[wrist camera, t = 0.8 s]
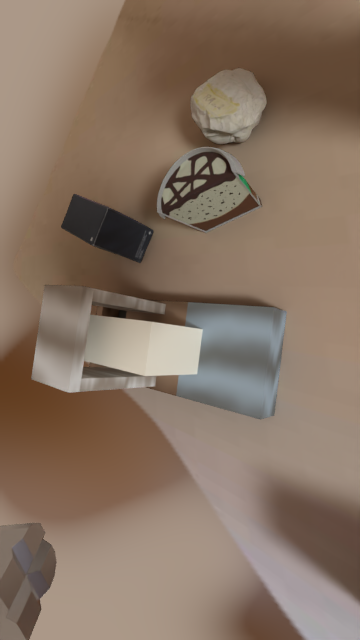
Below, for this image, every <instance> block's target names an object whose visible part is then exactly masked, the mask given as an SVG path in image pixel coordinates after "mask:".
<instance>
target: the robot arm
mask: <svg viewBox="0 0 360 640" xmlns="http://www.w3.org/2000/svg"><path fill="white" fill-rule="evenodd" d="M44 535H45V531H44V529H43V527H42V526H41V524H40V523H27V524H15V525H3V526H0V640H29V639H30V636H31V634H32V631H33V629H34V626H35V624H36V621H37V619H38V616H39V614H40V611H41V604H40V598H41V597H42V596H43V595H44V594H45V593H46V592H47V591H48V590H49V588H50V586H51V584H52V581H53V578H54V575H55V568H56V556H55V551H54V549H53V547H52V545H51V544H50V543H48V542H47V541H45V540H44V539H43V538H44Z"/></svg>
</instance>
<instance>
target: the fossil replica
mask: <svg viewBox="0 0 360 640" xmlns="http://www.w3.org/2000/svg"><path fill="white" fill-rule="evenodd" d="M266 103H267V101H266V96H265V94H264V90H263V88H262V87H261V86H260V85H259V84H258V82H257V81H256V78H255V75H254V73H252V72H251V71H247V70H245V69H241V68H237V69H234V70H232V71H231V70H223V71H220V72H218V73H217V74H216V75H214V76H213V77H211V78H210V79H208V80H207V81H206V82H205V83H203V84H202V85H201V86H199V87H198V88H197V89H196V90H195V93H194V94H193V95H192V97H191V106H190V108H191V111H192V114H191V115H192V119H193V120H194V122H195V123H196V124H197V125H198V127H199V128H200V129H201V131H202V132H203V133H204V135H205V137H206V138H207V139H209V140H210V141H212V142H214V143H216V144H226V143H228V142H235V143H237V142H244V141H246V140H247V139H248V138H249V136H250V134H251V130H252V129H253V128H254V127H256V126H257V124H259V120H260V118H261V115H262V111H263V110H264V108H265V106H266Z"/></svg>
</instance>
